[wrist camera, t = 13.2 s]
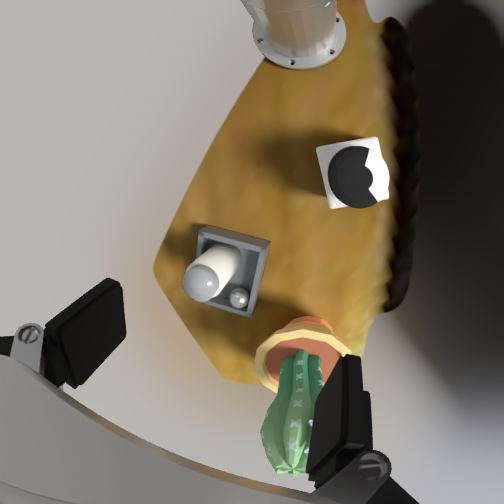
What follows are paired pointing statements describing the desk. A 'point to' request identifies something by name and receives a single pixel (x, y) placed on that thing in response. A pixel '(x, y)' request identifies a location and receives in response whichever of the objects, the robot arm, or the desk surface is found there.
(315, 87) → the desk surface
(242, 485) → the robot arm
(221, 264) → the shaker
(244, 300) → the steel ball
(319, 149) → the medicine bottle
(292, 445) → the potted cactus
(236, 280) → the tray
